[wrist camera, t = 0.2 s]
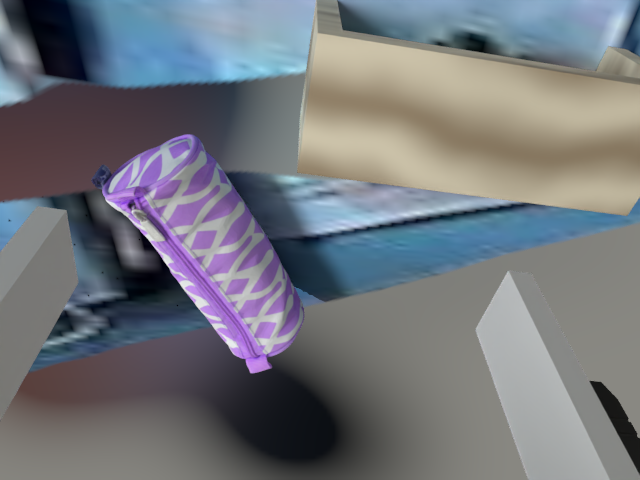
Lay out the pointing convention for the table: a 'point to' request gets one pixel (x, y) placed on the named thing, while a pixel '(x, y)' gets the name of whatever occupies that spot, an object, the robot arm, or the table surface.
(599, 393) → the robot arm
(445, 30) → the table surface
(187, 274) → the pencil case
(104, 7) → the table surface
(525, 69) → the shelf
